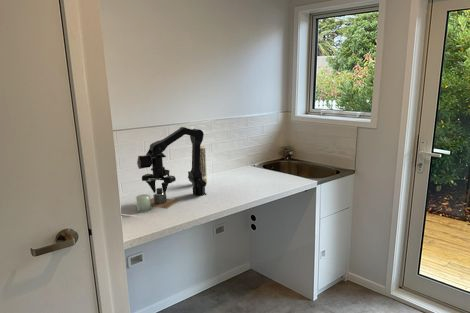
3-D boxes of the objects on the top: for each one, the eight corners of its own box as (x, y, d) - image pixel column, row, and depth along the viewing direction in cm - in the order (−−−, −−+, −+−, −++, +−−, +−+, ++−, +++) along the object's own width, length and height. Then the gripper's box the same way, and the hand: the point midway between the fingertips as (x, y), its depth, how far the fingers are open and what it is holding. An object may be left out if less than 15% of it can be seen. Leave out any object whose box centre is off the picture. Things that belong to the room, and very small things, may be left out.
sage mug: (153, 209, 192) (152, 195, 191) (143, 215, 184) (142, 200, 183) (143, 208, 195) (141, 193, 193) (132, 213, 187) (131, 198, 186)
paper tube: (196, 183, 240) (194, 146, 235) (206, 182, 241) (205, 145, 235) (196, 185, 233) (194, 148, 228) (206, 185, 234) (205, 147, 229)
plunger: (165, 199, 201) (164, 187, 200) (161, 202, 197) (160, 190, 196) (159, 199, 203) (158, 187, 202) (154, 201, 199) (153, 189, 198)
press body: (170, 200, 204) (169, 192, 203) (162, 205, 196) (161, 197, 195) (160, 199, 206) (159, 191, 205) (151, 203, 199) (151, 195, 198)
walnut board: (180, 201, 203) (180, 200, 203) (167, 209, 191) (167, 208, 191) (154, 198, 210) (154, 197, 210) (139, 206, 198) (139, 204, 198)
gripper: (180, 163, 200) (181, 190, 203) (151, 161, 207) (154, 187, 210) (169, 168, 190) (171, 196, 193) (140, 166, 197) (142, 193, 200)
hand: (159, 193), depth 199 cm, fingers open, 6 cm apart
